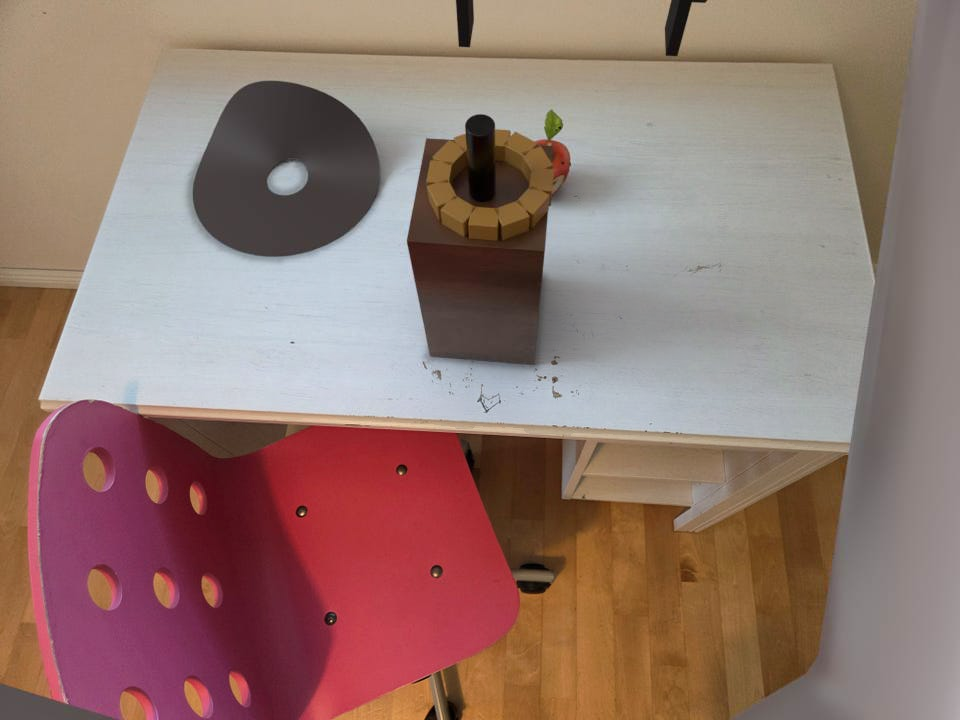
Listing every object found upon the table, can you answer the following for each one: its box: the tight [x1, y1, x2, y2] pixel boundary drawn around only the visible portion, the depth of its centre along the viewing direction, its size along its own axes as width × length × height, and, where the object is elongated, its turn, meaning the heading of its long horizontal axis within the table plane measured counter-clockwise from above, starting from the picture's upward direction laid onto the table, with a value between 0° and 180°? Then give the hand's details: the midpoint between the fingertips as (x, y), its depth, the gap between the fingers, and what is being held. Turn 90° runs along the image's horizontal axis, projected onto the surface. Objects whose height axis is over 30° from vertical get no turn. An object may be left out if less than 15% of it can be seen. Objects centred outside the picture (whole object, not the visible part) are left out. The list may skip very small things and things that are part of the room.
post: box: [464, 113, 496, 202], centre depth 59 cm, size 2×2×8 cm
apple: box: [533, 109, 572, 196], centre depth 86 cm, size 8×7×10 cm
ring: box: [426, 128, 554, 241], centre depth 61 cm, size 11×11×2 cm
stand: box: [406, 137, 553, 366], centre depth 72 cm, size 12×12×22 cm
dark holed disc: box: [192, 80, 381, 257], centre depth 87 cm, size 25×20×10 cm
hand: (567, 38), depth 46 cm, fingers open, 13 cm apart
